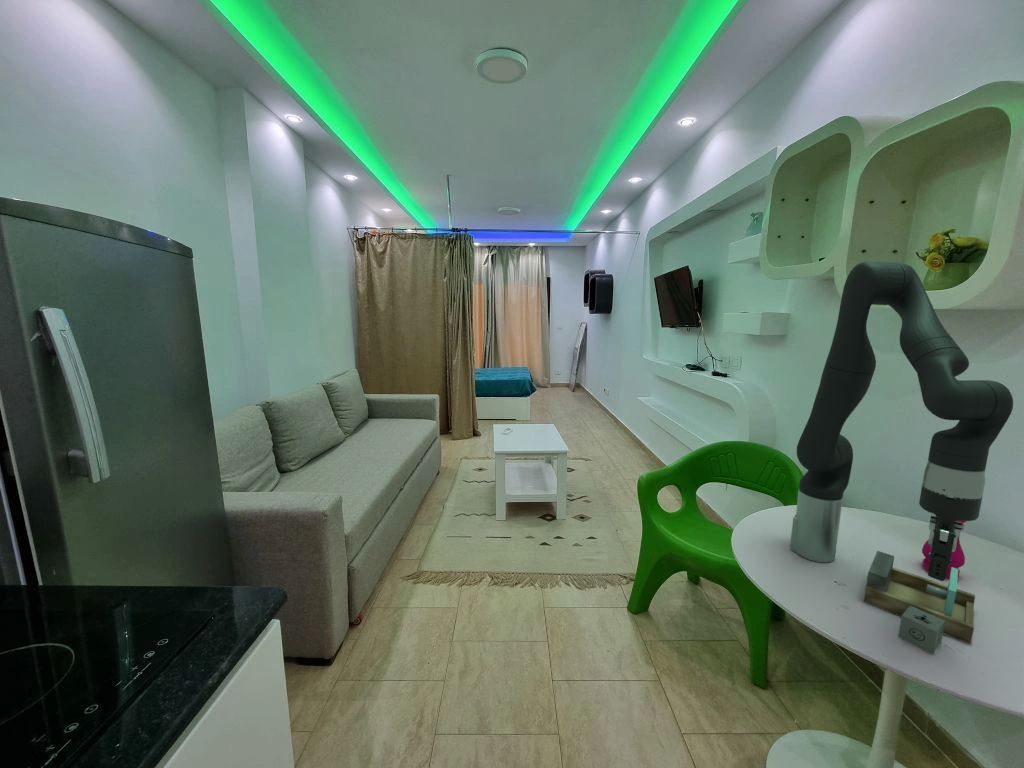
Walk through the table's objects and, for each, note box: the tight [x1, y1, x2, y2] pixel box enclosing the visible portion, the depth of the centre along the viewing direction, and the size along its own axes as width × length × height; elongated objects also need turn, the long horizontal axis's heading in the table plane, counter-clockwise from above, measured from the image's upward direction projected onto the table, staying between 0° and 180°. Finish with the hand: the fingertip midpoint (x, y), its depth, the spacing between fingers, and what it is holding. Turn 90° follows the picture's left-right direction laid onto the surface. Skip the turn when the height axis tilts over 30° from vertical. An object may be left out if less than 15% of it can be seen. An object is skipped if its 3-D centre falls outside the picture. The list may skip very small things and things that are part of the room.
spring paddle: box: [926, 567, 959, 616], centre depth 86 cm, size 4×11×8 cm, turn 131°
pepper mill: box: [921, 520, 967, 580], centre depth 98 cm, size 7×7×20 cm
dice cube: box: [897, 606, 945, 655], centre depth 80 cm, size 5×5×5 cm
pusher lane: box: [863, 550, 976, 644], centre depth 88 cm, size 16×14×7 cm
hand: (937, 568), depth 77 cm, fingers open, 8 cm apart
